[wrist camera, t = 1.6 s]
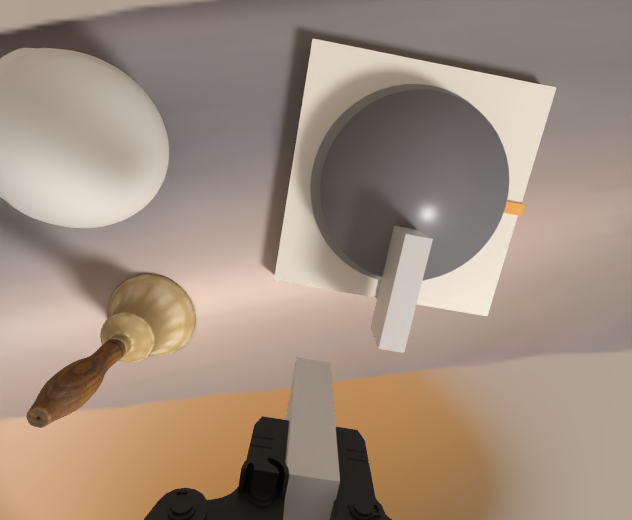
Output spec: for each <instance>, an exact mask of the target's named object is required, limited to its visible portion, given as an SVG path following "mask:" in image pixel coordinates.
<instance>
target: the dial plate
mask: <svg viewBox="0 0 632 520" xmlns="http://www.w3.org/2000/svg"><path fill="white" fill-rule="evenodd" d="M412 89H427V90H435V91H441V92H444V93H448V94H451V95H454V96H456V97H458V98H460V99H463V100H464V101H466V102H467V103H469V104H471V105H472V106H474V107H475V108H476V109H477V110H478V111H479V112H481V113H482V114H483V115H484V116H485V117H486V119H487V120H488V121H489V122H490V123H491V124H492V126H493V128H494V129H495V131H496V132H497V134H498V136H499V138H500V140H501V142H502V144H503V147H504V150H505V153H506V156H507V161H508V167H509V191H508V198H507V202H506V207H505V210H504V213H503V215H502V218H501V220H500V222H499V224H498V226H497V228H496V230H495V232H494V233H493V235H492V236H491V238H490V239H489V241H488V242H487V243H486V244H485V246H484V247H483V248H482V249H481V250H480V251H479V252H478V253H477V254H476V255H475V256H474V257H473V258H472V259H470V260H469V261H468V262H466V263H465V264H463V265H462V266H460V267H459V268H457V269H455V270H453V271H451V272H449V273H447V274H444V275H442V276H439V277H435V278H432V279H428V280H422V284H421V288H420V292H419V296H418V300H417V304H418V305H424V306H430V307H436V308H442V309H447V310H453V311H459V312H465V313H471V314H477V315H483V316H488V312H489V309H490V306H491V302H492V299H493V296H494V293H495V289H496V286H497V283H498V279H499V276H500V273H501V269H502V266H503V263H504V259H505V256H506V253H507V249H508V246H509V243H510V240H511V236H512V233H513V230H514V226H515V223H516V220H517V216H522V213H523V209H524V206H525V205H524V204H521V203H522V200H523V196H524V193H525V190H526V186H527V183H528V180H529V177H530V173H531V170H532V167H533V163H534V160H535V157H536V153H537V150H538V147H539V143H540V140H541V137H542V133H543V130H544V127H545V124H546V120H547V117H548V114H549V110H550V107H551V104H552V100H553V97H554V94H555V90H556V87H551V86H546V85H541V84H536V83H531V82H526V81H521V80H516V79H511V78H506V77H501V76H496V75H492V74H487V73H482V72H477V71H472V70H467V69H462V68H457V67H452V66H447V65H442V64H437V63H432V62H427V61H422V60H417V59H412V58H407V57H402V56H397V55H392V54H387V53H382V52H377V51H373V50H368V49H363V48H358V47H353V46H348V45H343V44H338V43H333V42H328V41H323V40H318V39H312V45H311V52H310V58H309V64H308V70H307V77H306V83H305V89H304V95H303V102H302V108H301V114H300V120H299V126H298V133H297V139H296V145H295V151H294V158H293V164H292V170H291V176H290V183H289V189H288V195H287V201H286V208H285V214H284V220H283V226H282V233H281V239H280V245H279V251H278V258H277V264H276V270H275V276H274V280H275V281H281V282H287V283H293V284H299V285H305V286H311V287H317V288H323V289H329V290H335V291H341V292H347V293H352V294H358V295H364V296H370V297H376V298H378V294H379V289H380V285H381V280H382V277H380V276H377V275H375V274H372V273H370V272H368V271H366V270H365V269H363V268H361V267H360V266H358V265H357V264H356V263H354V262H353V261H352V260H351V259H349V258H348V257H347V256H346V255H345V254H344V253H343V251H342V250H341V249H340V248H339V246H338V245H337V244H336V242H335V241H334V239H333V237H332V236H331V234H330V232H329V229H328V227H327V225H326V222H325V219H324V215H323V212H322V207H321V200H320V180H321V172H322V168H323V164H324V160H325V158H326V155H327V153H328V150H329V148H330V146H331V145H332V143H333V141H334V139H335V138H336V136H337V135H338V133H339V132H340V131H341V129H342V128H343V127H344V126H345V124H346V123H347V122H348V121H349V120H350V119H351V118H352V117H353V116H354V115H355V114H357V113H358V112H359V111H360V110H361V109H363V108H364V107H366V106H367V105H369V104H370V103H372V102H374V101H376V100H378V99H380V98H382V97H384V96H386V95H390V94H393V93H396V92H400V91H406V90H412Z"/></svg>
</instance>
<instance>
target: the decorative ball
mask: <svg viewBox="0 0 632 520" xmlns="http://www.w3.org/2000/svg"><path fill="white" fill-rule="evenodd" d="M168 162H169V143H168V137H167V133H166V129H165V126H164V123H163V120H162V118H161V116H160V114H159V112H158V110H157V108H156V106H155V105H154V103H153V102H152V100H151V99H150V98H149V96H148V95H147V94H146V93H145V91H144V90H143V89H142V88H141V87H140V86H139V85H138V84H137V83H136V82H135V81H134V80H133V79H131V78H130V77H129V76H128V75H126V74H125V73H124V72H122V71H121V70H119V69H118V68H116V67H115V66H113V65H111V64H109V63H107V62H105V61H103V60H101V59H99V58H96V57H94V56H91V55H88V54H84V53H81V52H76V51H71V50H64V49H53V48H20V49H17V50H14V51H12V52H10V53H8V54H7V55H5V56H3V57H2V58H0V198H2V199H4V200H5V201H6V202H8V203H9V204H10V205H11V206H12V207H14V208H15V209H17V210H18V211H20V212H22V213H23V214H25V215H27V216H29V217H32V218H34V219H37V220H40V221H43V222H46V223H50V224H54V225H59V226H65V227H73V228H95V227H102V226H107V225H111V224H114V223H117V222H120V221H123V220H125V219H127V218H129V217H131V216H133V215H134V214H136V213H137V212H139V211H140V210H141V209H143V208H144V207H145V206H146V205H147V204H148V203H149V202H150V201H151V200H152V199H153V197H154V196H155V195H156V193H157V192H158V190H159V189H160V187H161V185H162V183H163V181H164V178H165V175H166V172H167V168H168Z"/></svg>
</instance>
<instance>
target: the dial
mask: <svg viewBox="0 0 632 520" xmlns="http://www.w3.org/2000/svg"><path fill="white" fill-rule="evenodd" d="M508 191H509V167H508V161H507V156H506V153H505V150H504V147H503V144H502V142H501V140H500V138H499V136H498V134H497V132H496V131H495V129H494V128H493V126H492V124H491V123H490V122H489V121H488V120H487V119H486V117H485V116H484V115H483V114H482V113H481V112H479V111H478V110H477V109H476V108H475V107H474V106H472V105H471V104H469V103H467V102H466V101H464V100H463V99H460V98H458V97H456V96H454V95H451V94H448V93H444V92H441V91H435V90H427V89H412V90H406V91H400V92H396V93H393V94H390V95H386V96H384V97H382V98H380V99H378V100H376V101H374V102H372V103H370V104H369V105H367V106H366V107H364V108H363V109H361V110H360V111H359V112H358V113H357V114H355V115H354V116H353V117H352V118H351V119H350V120H349V121H348V122H347V123H346V124H345V126H344V127H343V128H342V129H341V131H340V132H339V133H338V135H337V136H336V138H335V139H334V141H333V143H332V145H331V146H330V148H329V150H328V153H327V155H326V158H325V160H324V164H323V168H322V172H321V180H320V200H321V207H322V212H323V215H324V219H325V222H326V225H327V227H328V229H329V232H330V234H331V236H332V237H333V239H334V241H335V242H336V244H337V245H338V246H339V248H340V249H341V250H342V251H343V253H344V254H345V255H346V256H347V257H348V258H349V259H351V260H352V261H353V262H354V263H356V264H357V265H358V266H360V267H361V268H363V269H365V270H366V271H368V272H370V273H372V274H375V275H377V276H380V277H382V280H381V285H380V289H379V294H378V298H377V302H376V307H375V311H374V315H373V320H372V324H371V329H372V332H373V335H374V338H375V340H376V343H377V346H378V349H384V350H390V351H396V352H402V353H404V351H405V347H406V343H407V339H408V335H409V331H410V327H411V323H412V319H413V316H414V312H415V308H416V304H417V300H418V296H419V292H420V288H421V284H422V280H428V279H432V278H435V277H439V276H442V275H444V274H447V273H449V272H451V271H453V270H455V269H457V268H459V267H460V266H462V265H463V264H465V263H466V262H468V261H469V260H470V259H472V258H473V257H474V256H475V255H476V254H477V253H478V252H479V251H480V250H481V249H482V248H483V247H484V246H485V244H486V243H487V242H488V241H489V239H490V238H491V236H492V235H493V233H494V232H495V230H496V228H497V226H498V224H499V222H500V220H501V218H502V215H503V213H504V210H505V207H506V202H507V198H508Z"/></svg>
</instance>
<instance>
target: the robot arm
mask: <svg viewBox="0 0 632 520" xmlns="http://www.w3.org/2000/svg"><path fill="white" fill-rule="evenodd" d="M144 520H392V519H390V518H389V517H387V515H385V512H384V510H383V507H382V505H381V504H380V503H379V502H378V501H377V500H376V498H375V494H374V488H373V483H372V477H371V472H370V467H369V463H368V456H367V451H366V446H365V441H364V439H363V438H362V436H361V435H360V433H359V432H358V430H353V429H347V428H340V427H336V426H335V415H334V402H333V390H332V378H331V365H330V363H327V362H321V361H315V360H309V359H303V358H296V364H295V369H294V375H293V380H292V386H291V391H290V397H289V402H288V408H287V415H286V420H282V419H275V418H268V417H262V418H261V419H260V420H259V421H258V422H257V423H256V424H255V425H254V430H253V434H252V438H251V443H250V447H249V451H248V455H247V460H246V461H245V463H244V464H243V466H242V468H241V475H240V481H239V487H238V488H237V489H236V490H235V491H234V492H232V493H231V494H229V495H227V496H225V497H222V498H219V499H213V500H206V499H205V497H204V496H203V494H202V493H200V492H198V491H197V490H195V489H189V488H181V489H175V490H173V491H171V492H169V493H166V494H165V495H164V496H163V497H162V498H161V499H160V500H159V501H158V502H157V503H156V505H155V506H154V507H153V508H152V510H151V511H150V512H149V514H148V515H147V516H146V517H145V519H144Z"/></svg>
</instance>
